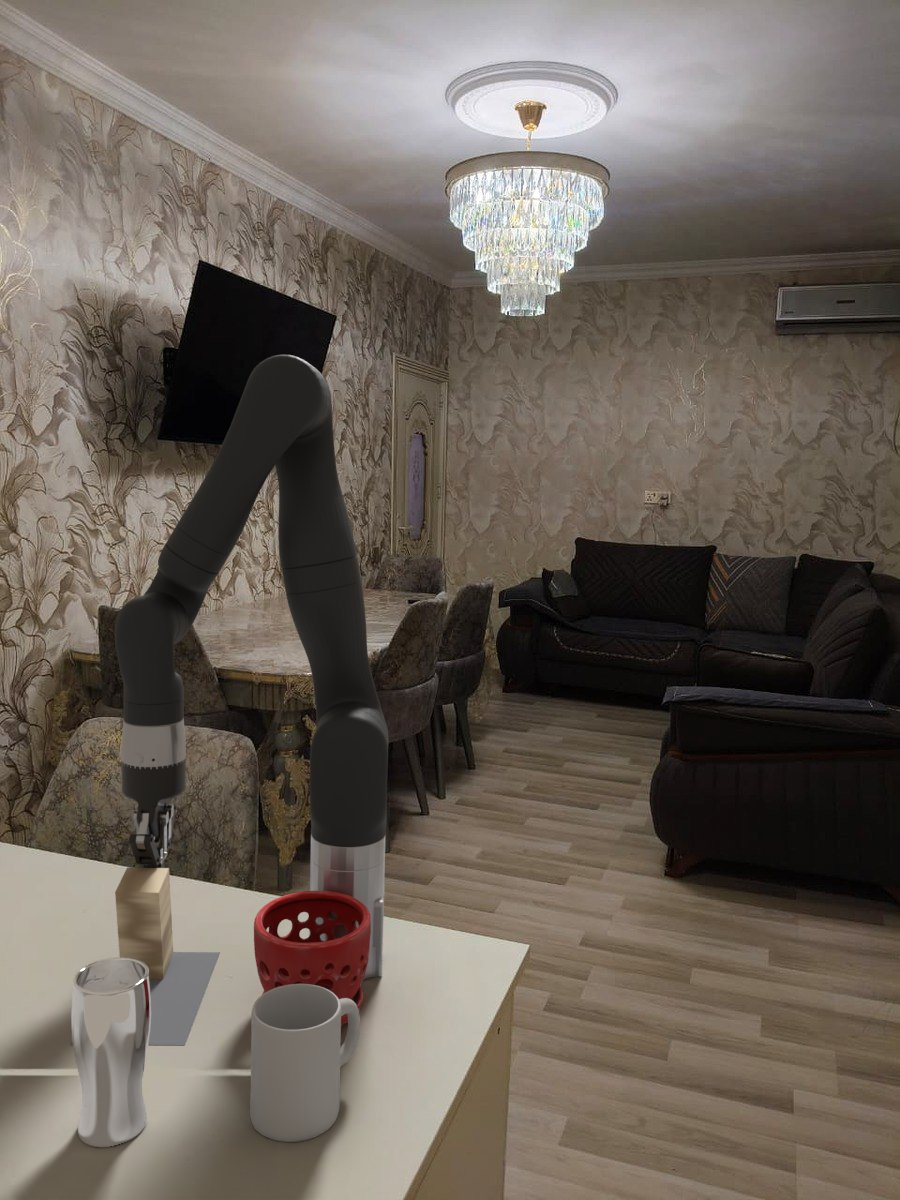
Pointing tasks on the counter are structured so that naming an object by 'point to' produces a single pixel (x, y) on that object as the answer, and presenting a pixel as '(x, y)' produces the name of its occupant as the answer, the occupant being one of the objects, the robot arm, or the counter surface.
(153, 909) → the maple block
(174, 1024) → the rubber mat
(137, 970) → the beer glass
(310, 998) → the mug
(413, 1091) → the counter surface
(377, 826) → the robot arm
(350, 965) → the plant pot
